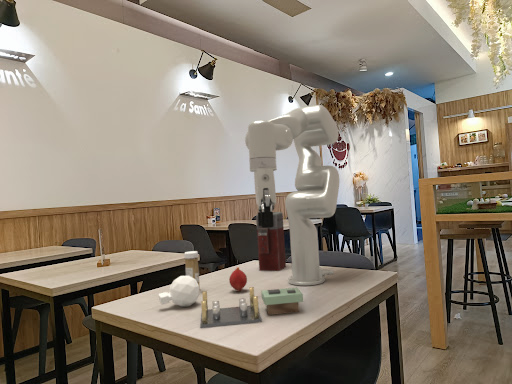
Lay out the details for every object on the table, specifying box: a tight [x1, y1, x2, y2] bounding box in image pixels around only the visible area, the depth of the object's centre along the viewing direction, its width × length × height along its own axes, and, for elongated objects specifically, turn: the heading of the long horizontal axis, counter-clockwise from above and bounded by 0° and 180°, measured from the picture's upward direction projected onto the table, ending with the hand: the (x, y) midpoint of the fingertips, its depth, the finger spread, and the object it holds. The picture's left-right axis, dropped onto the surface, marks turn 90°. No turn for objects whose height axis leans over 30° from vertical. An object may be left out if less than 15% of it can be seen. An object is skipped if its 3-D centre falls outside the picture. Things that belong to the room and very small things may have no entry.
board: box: [260, 287, 304, 306], centre depth 102 cm, size 10×7×3 cm
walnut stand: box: [265, 302, 300, 315], centre depth 102 cm, size 8×4×3 cm, turn 97°
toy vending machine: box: [255, 205, 287, 272], centre depth 160 cm, size 9×11×28 cm
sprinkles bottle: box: [183, 250, 201, 291], centre depth 129 cm, size 5×5×14 cm
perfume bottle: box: [158, 275, 201, 308], centre depth 113 cm, size 9×9×12 cm
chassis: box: [199, 286, 263, 329], centre depth 100 cm, size 15×12×6 cm
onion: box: [229, 266, 248, 292], centre depth 126 cm, size 6×6×8 cm
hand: (265, 226), depth 107 cm, fingers open, 9 cm apart
